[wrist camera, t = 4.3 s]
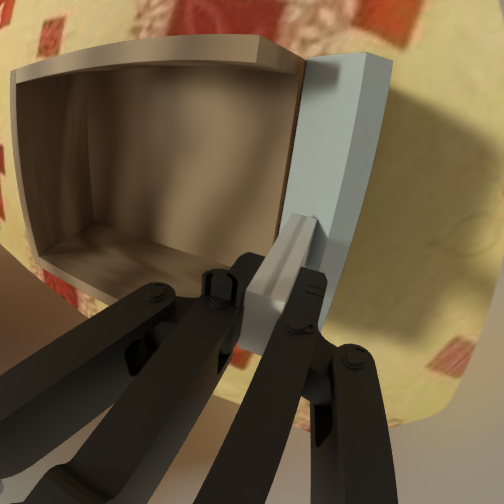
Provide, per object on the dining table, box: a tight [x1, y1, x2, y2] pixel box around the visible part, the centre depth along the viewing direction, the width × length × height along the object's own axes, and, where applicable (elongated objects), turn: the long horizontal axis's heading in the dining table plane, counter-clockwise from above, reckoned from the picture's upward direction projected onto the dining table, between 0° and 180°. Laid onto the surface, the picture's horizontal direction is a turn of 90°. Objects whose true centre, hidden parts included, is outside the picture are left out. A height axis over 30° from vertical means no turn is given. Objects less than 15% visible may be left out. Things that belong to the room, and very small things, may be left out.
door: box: [279, 52, 393, 333], centre depth 17 cm, size 1×18×8 cm, turn 172°
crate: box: [10, 34, 305, 306], centre depth 21 cm, size 20×18×9 cm
